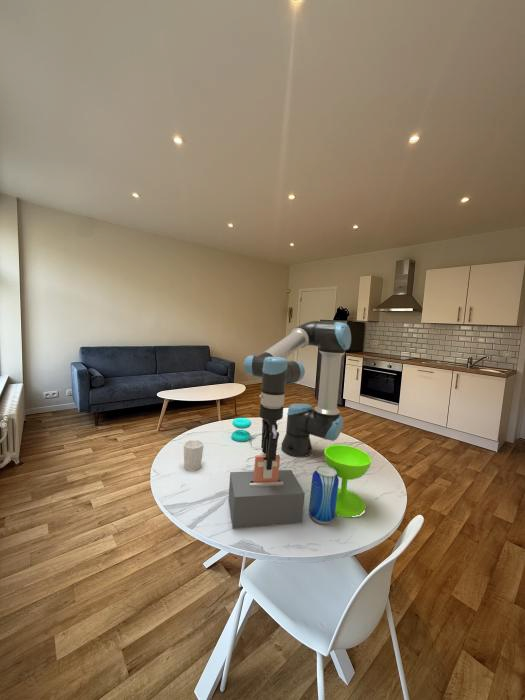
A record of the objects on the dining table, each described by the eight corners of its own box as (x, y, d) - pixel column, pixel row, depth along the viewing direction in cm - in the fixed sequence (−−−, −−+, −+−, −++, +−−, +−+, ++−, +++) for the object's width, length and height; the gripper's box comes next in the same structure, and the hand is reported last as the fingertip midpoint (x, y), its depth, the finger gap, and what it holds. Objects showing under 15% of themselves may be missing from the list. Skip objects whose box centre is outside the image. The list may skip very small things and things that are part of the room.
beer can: (306, 507, 97) (311, 463, 96) (330, 509, 97) (336, 465, 96) (310, 524, 89) (315, 476, 87) (337, 527, 89) (342, 478, 87)
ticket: (276, 489, 95) (279, 454, 94) (277, 491, 94) (280, 456, 92) (252, 490, 93) (255, 455, 92) (253, 492, 92) (256, 457, 91)
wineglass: (326, 484, 112) (330, 441, 111) (369, 499, 105) (374, 452, 103) (313, 506, 98) (318, 456, 97) (361, 524, 91) (367, 471, 89)
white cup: (197, 473, 114) (198, 449, 113) (179, 469, 115) (180, 446, 114) (205, 464, 121) (206, 441, 120) (188, 460, 123) (189, 438, 122)
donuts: (253, 418, 153) (248, 424, 144) (252, 436, 154) (247, 443, 145) (236, 415, 155) (230, 421, 146) (234, 433, 156) (228, 440, 147)
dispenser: (288, 495, 103) (291, 468, 102) (301, 522, 90) (304, 491, 89) (228, 499, 99) (230, 470, 98) (232, 528, 85) (234, 495, 84)
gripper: (255, 398, 97) (251, 463, 100) (265, 413, 82) (259, 489, 84) (276, 398, 99) (271, 462, 101) (290, 413, 84) (283, 488, 86)
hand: (266, 474), depth 93 cm, fingers open, 3 cm apart
